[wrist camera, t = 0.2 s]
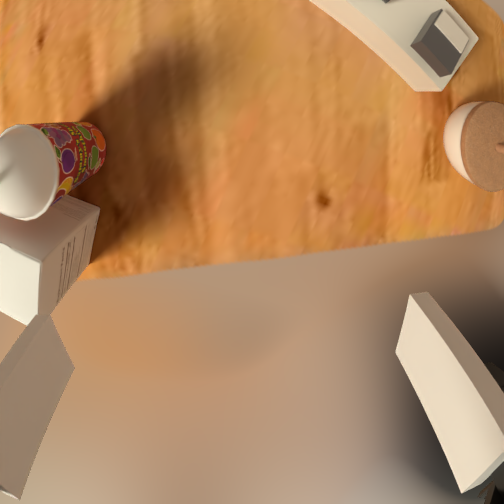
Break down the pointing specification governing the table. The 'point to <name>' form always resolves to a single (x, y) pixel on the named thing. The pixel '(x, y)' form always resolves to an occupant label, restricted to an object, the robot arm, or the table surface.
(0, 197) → the smoothie
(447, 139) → the lidded jar
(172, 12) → the table surface
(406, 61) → the console
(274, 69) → the table surface
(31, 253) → the supplement box
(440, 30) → the block
